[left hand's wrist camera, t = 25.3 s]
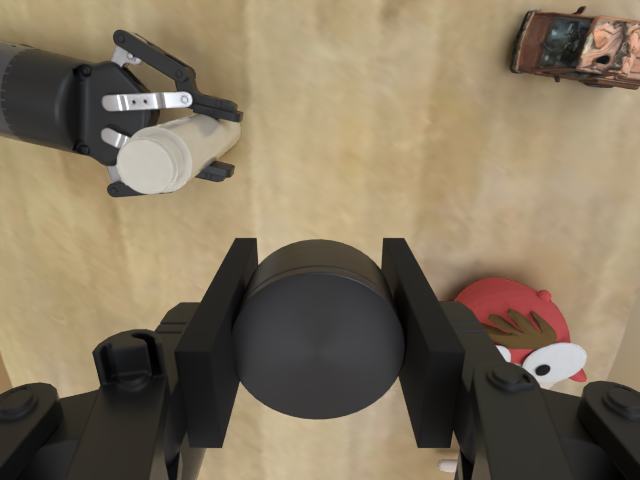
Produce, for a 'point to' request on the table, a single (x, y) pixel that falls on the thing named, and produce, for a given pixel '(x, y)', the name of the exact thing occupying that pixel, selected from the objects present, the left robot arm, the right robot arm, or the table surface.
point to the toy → (524, 332)
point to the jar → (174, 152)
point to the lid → (318, 331)
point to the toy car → (579, 48)
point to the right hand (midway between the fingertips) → (235, 144)
